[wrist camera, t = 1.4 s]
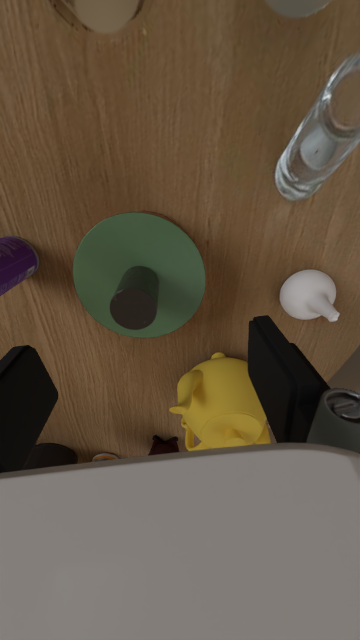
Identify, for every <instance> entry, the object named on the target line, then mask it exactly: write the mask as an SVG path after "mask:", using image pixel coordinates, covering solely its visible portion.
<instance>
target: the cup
mask: <svg viewBox="0 0 360 640" xmlns="http://www.w3.org/2000/svg"><path fill="white" fill-rule="evenodd" d="M77 463H78V458H77V456H76V454H75V453H74V452H73V451H72V450H70V449H69V448H67V447H64V446H62V445H58V444H51V443H44V444H38V445H35V446H34V447H33V449H32V451H31V453H30V455H29V457H28V459H27V461H26V463H25V465H24V467H23V469H22V470H30V469H38V468H46V467H54V466H63V465H71V464H77Z"/></svg>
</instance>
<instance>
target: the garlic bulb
mask: <svg viewBox="0 0 360 640" xmlns="http://www.w3.org/2000/svg"><path fill="white" fill-rule="evenodd" d="M335 298H336V287H335V284H334V282H333V280H332V279H331V278H330V277H329V276H328V275H327V274H325V273H323V272H321V271H318V270H312V269H310V270H303V271H299V272H297V273H295V274H293V275H292V276H290V277H289V278H288V279H287V280H286V281H285V282H284V284H283V285H282V287H281V290H280V303H281V305H282V307H283V309H284V310H285V311H286V312H287V313H288V314H289V315H290V316H292V317H294V318H297V319H303V320H308V319H313V318H316V317H319V316H321V315H322V316H324V317H326V318H327V319H328V320H329V321H330V322H334V321H337V320H338V319H337V318H338V317H339V315H340V314H339V312H337V311H336V309H335V308H334V306H333V305H332V304H333V303H334V300H335Z"/></svg>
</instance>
